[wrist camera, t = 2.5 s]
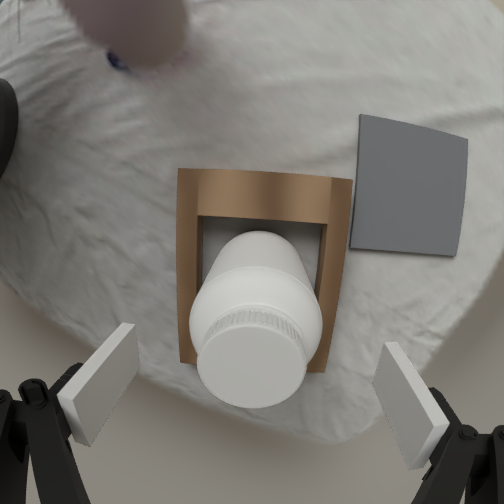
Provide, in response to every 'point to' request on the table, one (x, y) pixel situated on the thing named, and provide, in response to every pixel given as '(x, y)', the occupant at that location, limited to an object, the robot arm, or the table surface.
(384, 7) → the table surface
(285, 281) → the pill bottle
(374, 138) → the mat
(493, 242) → the table surface
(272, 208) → the pocket board
